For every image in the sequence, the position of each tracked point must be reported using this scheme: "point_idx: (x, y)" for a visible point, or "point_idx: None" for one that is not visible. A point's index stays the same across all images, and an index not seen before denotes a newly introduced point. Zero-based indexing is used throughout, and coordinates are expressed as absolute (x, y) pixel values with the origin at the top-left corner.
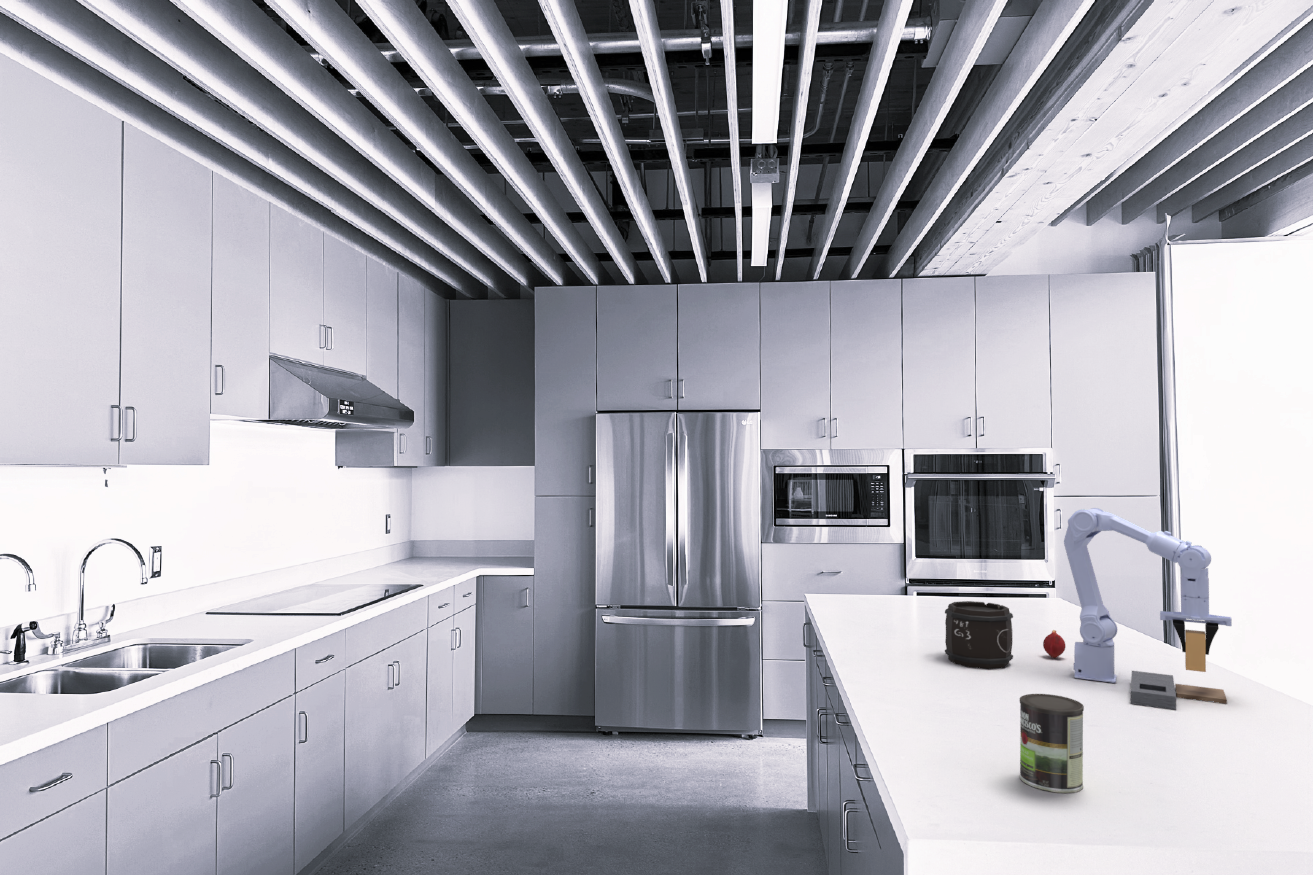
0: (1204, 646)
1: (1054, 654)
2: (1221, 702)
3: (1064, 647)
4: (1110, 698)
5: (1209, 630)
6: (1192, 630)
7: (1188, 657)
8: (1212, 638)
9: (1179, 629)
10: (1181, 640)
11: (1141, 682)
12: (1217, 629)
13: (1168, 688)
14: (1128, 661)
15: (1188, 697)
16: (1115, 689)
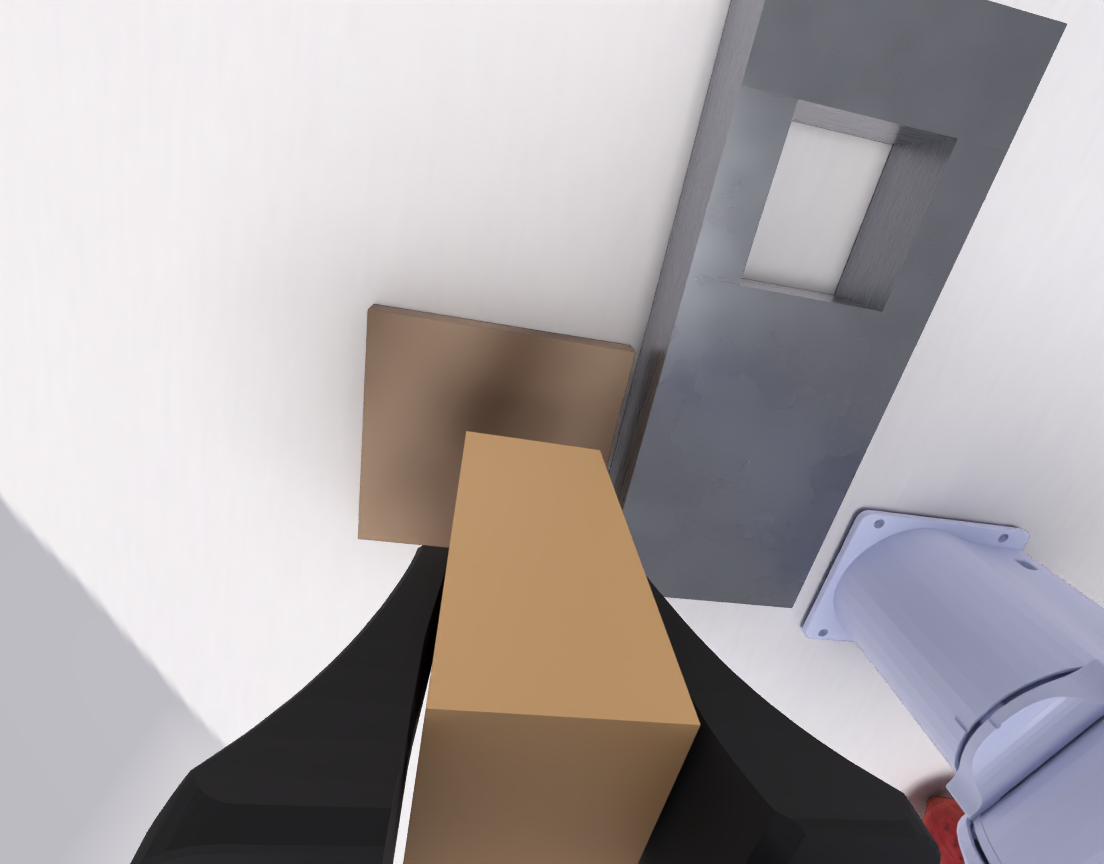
0: (458, 566)
1: None
2: (401, 309)
3: (943, 846)
4: (1045, 155)
5: (346, 763)
6: (553, 862)
7: (599, 500)
8: (336, 662)
9: (800, 758)
10: (695, 641)
11: (856, 345)
12: (173, 796)
13: (738, 234)
14: None
15: (572, 338)
16: (909, 392)
